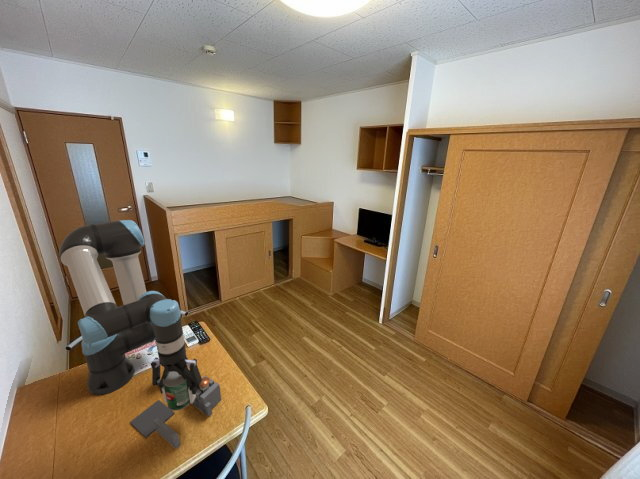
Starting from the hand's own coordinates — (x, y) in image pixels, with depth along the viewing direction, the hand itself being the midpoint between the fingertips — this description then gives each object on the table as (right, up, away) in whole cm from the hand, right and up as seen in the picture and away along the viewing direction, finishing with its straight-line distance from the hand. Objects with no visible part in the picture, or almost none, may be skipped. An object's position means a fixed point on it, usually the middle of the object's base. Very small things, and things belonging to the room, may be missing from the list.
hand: (180, 399), depth 89 cm
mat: (-12, -9, +4) cm, 16 cm away
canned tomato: (0, -1, 0) cm, 1 cm away
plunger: (+4, -4, +9) cm, 11 cm away
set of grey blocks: (+1, -9, +5) cm, 11 cm away
